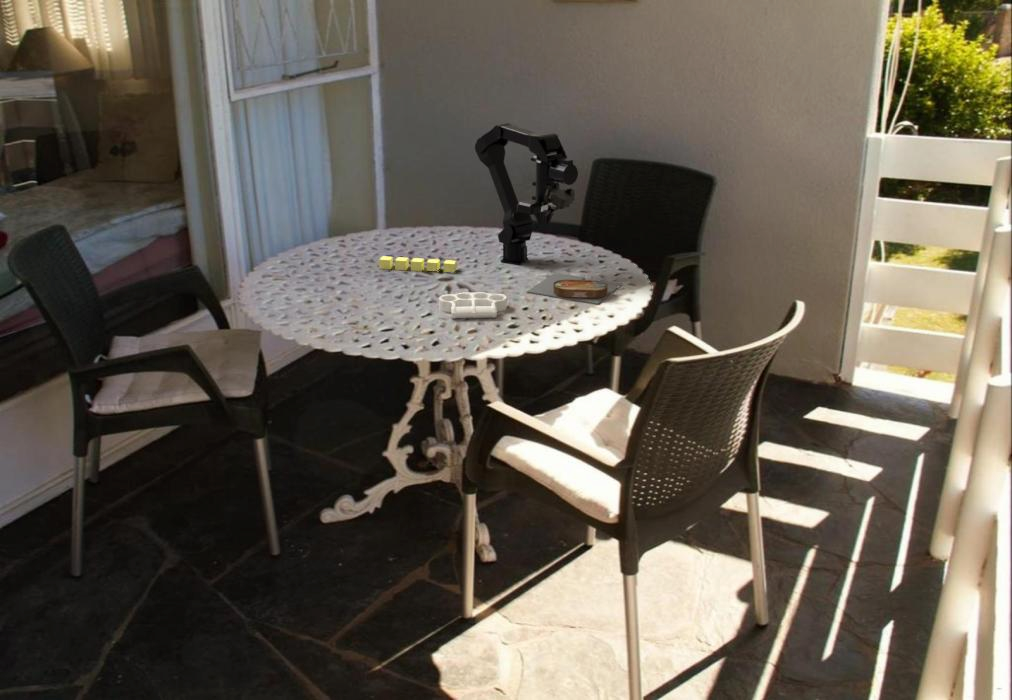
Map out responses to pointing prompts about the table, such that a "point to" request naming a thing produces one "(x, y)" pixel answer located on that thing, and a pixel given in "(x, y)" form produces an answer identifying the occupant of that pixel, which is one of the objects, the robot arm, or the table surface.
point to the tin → (580, 288)
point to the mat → (547, 284)
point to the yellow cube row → (416, 264)
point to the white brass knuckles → (473, 304)
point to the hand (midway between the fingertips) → (544, 231)
